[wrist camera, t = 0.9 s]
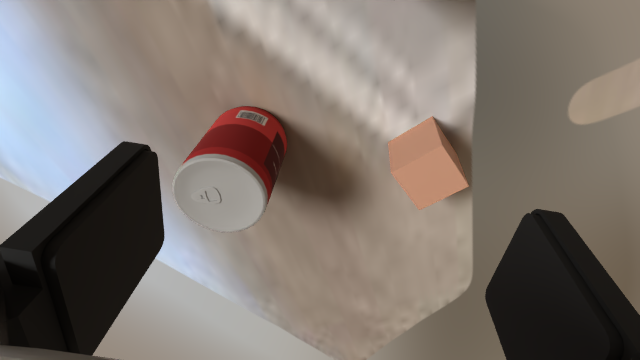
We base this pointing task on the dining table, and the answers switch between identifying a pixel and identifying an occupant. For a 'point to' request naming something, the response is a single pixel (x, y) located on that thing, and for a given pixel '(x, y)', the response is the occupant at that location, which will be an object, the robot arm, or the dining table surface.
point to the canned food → (232, 170)
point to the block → (426, 164)
